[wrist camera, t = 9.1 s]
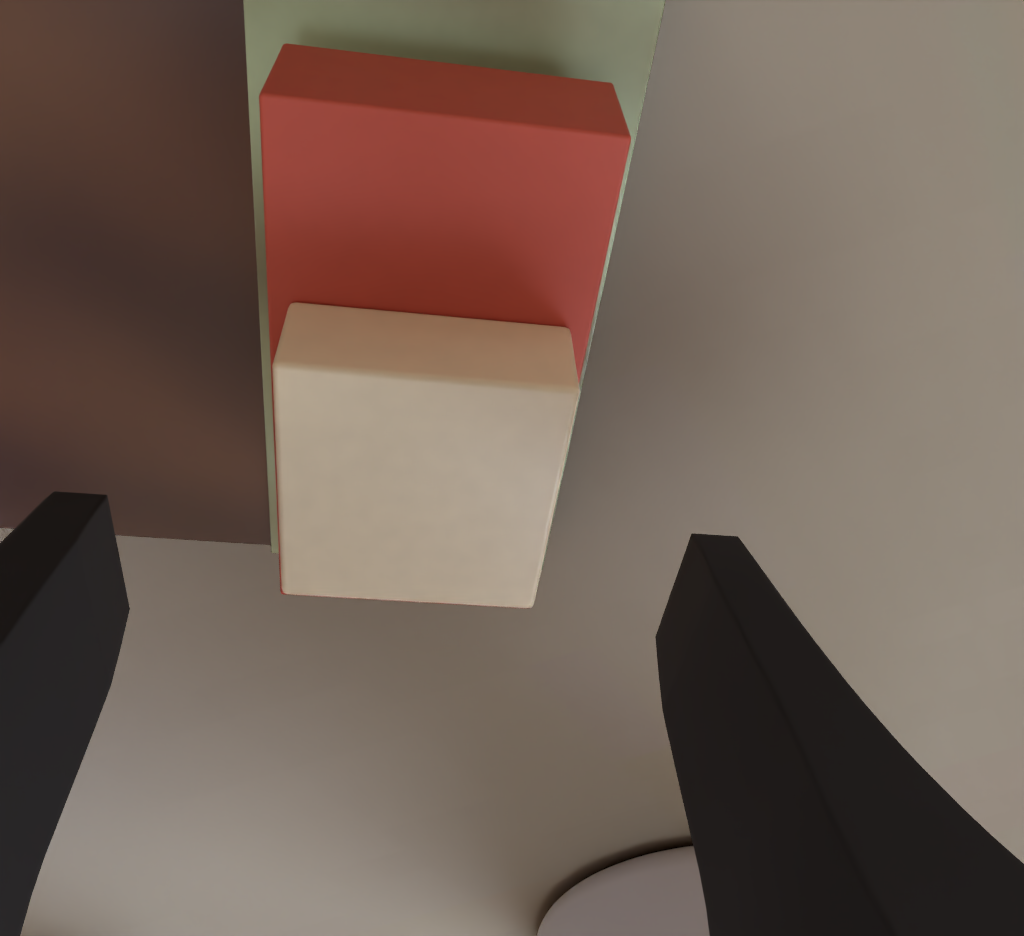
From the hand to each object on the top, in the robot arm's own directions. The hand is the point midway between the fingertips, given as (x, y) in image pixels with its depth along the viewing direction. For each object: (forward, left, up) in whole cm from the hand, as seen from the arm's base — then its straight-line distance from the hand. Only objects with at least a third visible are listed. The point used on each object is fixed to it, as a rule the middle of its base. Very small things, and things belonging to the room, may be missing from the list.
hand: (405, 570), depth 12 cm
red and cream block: (0, 0, -6) cm, 6 cm away
